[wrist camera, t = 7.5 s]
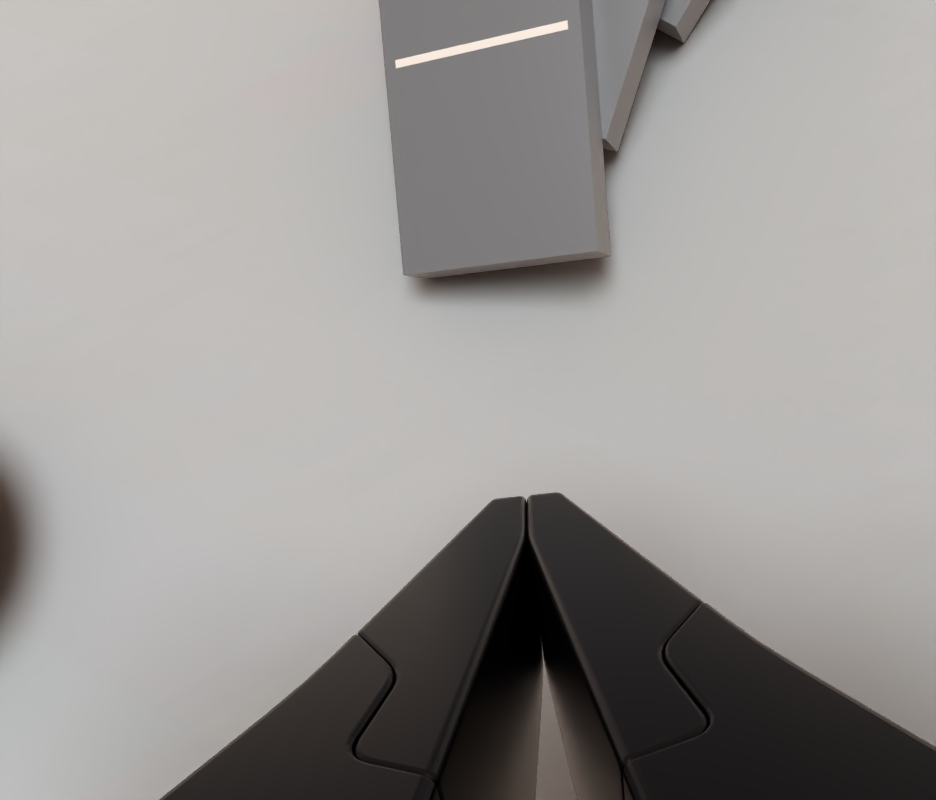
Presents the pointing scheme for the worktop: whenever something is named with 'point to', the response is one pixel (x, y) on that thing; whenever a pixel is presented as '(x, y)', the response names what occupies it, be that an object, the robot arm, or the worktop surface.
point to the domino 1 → (494, 133)
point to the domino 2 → (621, 58)
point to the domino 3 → (680, 17)
